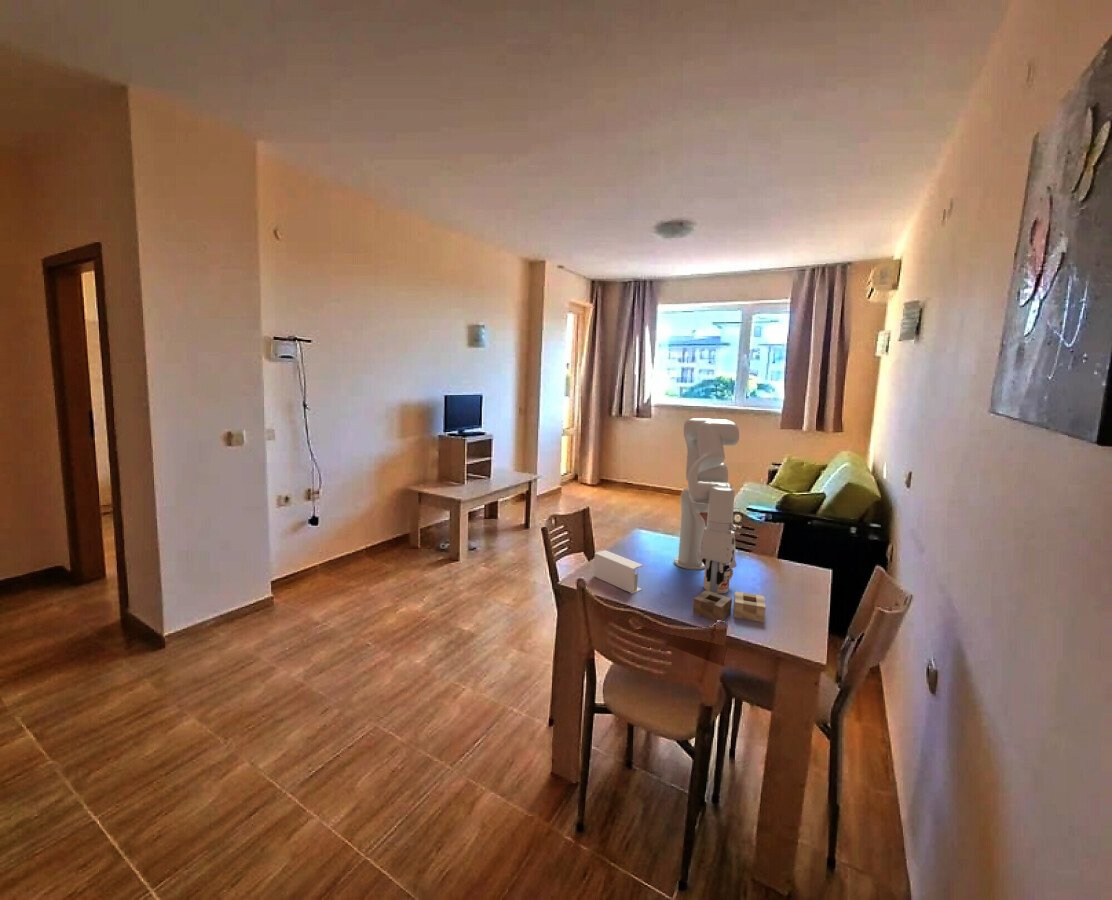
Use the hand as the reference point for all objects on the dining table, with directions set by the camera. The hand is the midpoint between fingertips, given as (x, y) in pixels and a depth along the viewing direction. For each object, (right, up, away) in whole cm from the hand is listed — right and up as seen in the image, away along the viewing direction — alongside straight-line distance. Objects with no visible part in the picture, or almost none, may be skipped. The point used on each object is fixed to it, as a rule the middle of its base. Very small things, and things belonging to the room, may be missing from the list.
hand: (714, 581), depth 164 cm
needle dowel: (0, -3, 0) cm, 3 cm away
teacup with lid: (+8, -8, +22) cm, 25 cm away
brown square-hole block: (0, -11, +2) cm, 11 cm away
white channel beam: (-29, -7, +23) cm, 38 cm away
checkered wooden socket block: (+12, -11, +2) cm, 16 cm away
